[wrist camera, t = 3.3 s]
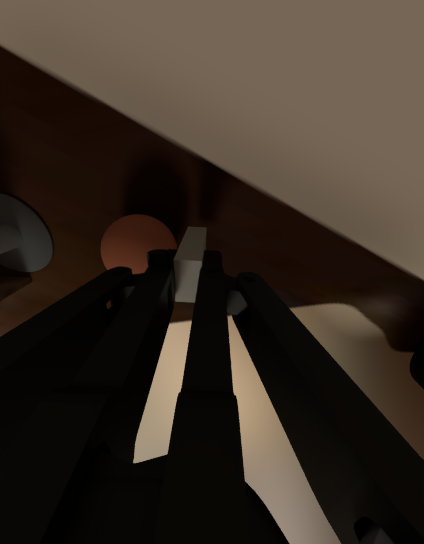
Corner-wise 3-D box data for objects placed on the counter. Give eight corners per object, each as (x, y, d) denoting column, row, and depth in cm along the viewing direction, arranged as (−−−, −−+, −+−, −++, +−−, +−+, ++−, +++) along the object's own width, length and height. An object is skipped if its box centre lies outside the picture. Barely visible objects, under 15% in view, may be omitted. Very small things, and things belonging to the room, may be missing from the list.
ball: (194, 245, 20) (185, 273, 14) (152, 277, 22) (131, 313, 16) (150, 194, 18) (121, 204, 12) (108, 234, 20) (66, 259, 14)
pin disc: (69, 241, 20) (67, 242, 20) (28, 284, 22) (27, 285, 22) (-12, 171, 17) (-14, 171, 17) (-47, 228, 20) (-50, 229, 20)
